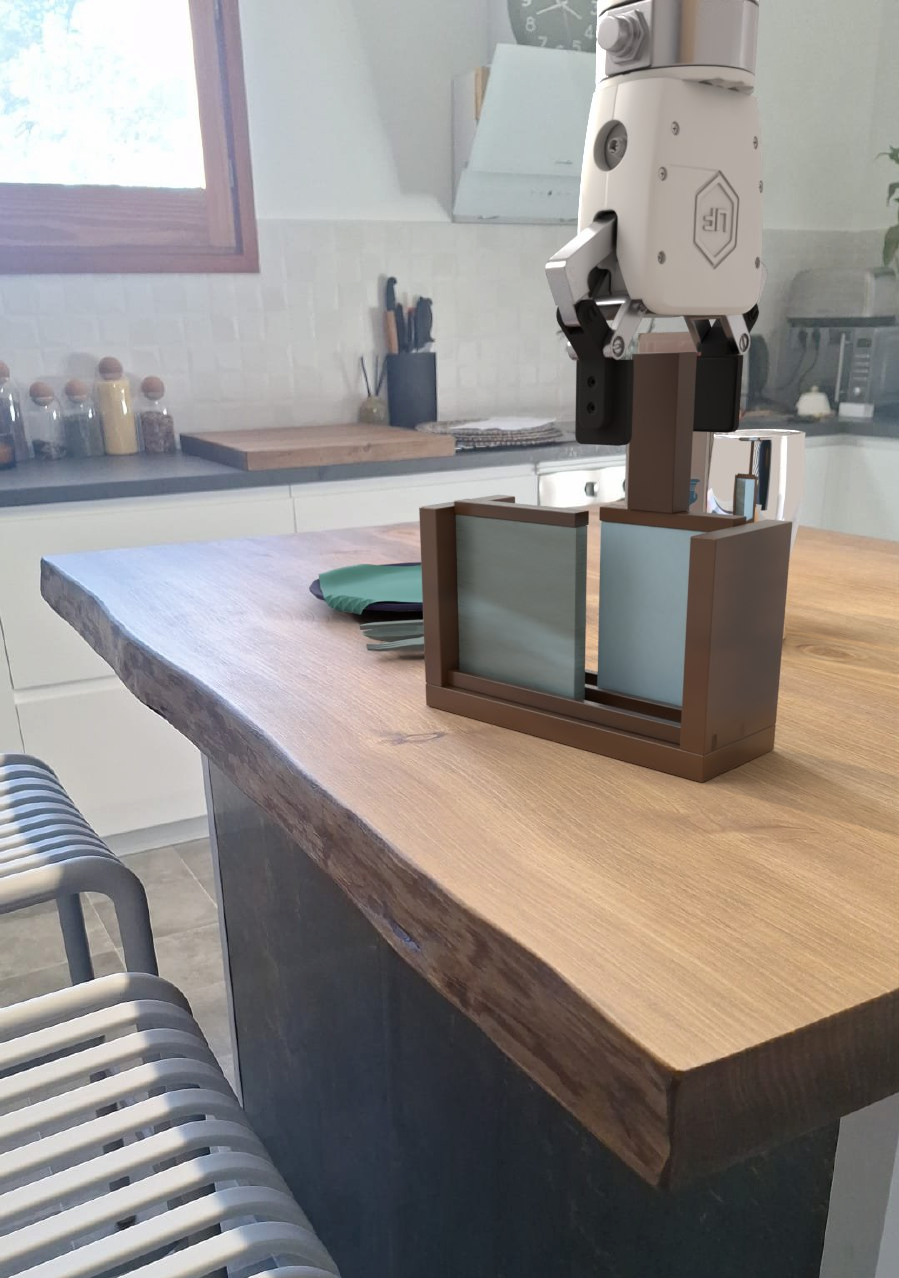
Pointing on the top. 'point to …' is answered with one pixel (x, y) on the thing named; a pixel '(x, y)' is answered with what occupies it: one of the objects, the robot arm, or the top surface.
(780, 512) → the beer glass
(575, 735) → the window frame
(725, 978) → the top surface
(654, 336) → the juice carton
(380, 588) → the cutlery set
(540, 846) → the top surface
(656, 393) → the sash
